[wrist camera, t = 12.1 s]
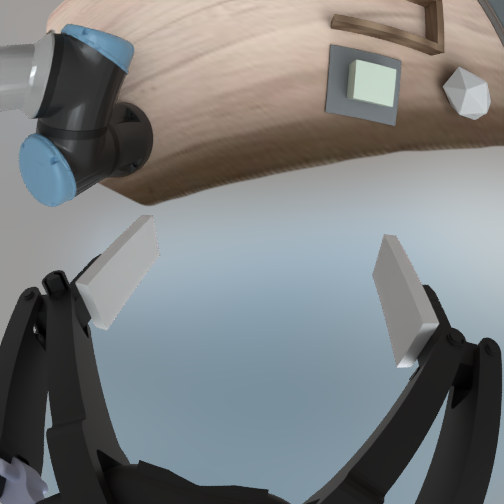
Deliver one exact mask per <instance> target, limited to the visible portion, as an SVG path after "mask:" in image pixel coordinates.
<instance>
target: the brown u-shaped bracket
mask: <svg viewBox="0 0 504 504" xmlns="http://www.w3.org/2000/svg"><path fill="white" fill-rule="evenodd" d="M407 1H410V2H413V3H415V4H418V5H421V6H423V7H425V18H426V39H425V38H422V37H420V36H417V35H414V34H411V33H408V32H405V31H402V30H399V29H396V28H393V27H389V26H386V25H382V24H379V23H375V22H371V21H367V20H362V19H358V18H353V17H348V16H343V15H337V14H334V17H333V20H332V22H331V28H332V29H338V30H343V31H349V32H354V33H358V34H363V35H367V36H371V37H375V38H379V39H383V40H387V41H390V42H394V43H397V44H400V45H403V46H406V47H409V48H412V49H415V50H418V51H421V52H424V53H426V54H429V55H431V56H432V55H436V54H440V53H444V19H443V5H442V0H407Z"/></svg>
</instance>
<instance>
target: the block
mask: <svg viewBox="0 0 504 504" xmlns="http://www.w3.org/2000/svg"><path fill="white" fill-rule="evenodd" d="M395 81H396V69H392V68H389V67H385V66H381V65H378V64H374V63H370V62H365V61H361V60H355V61H354V62H352V63H351V64H349V77H348V88H347V98H348V99H353V100H358V101H363V102H367V103H372V104H376V105H380V106H387V107H393V101H394V91H395Z"/></svg>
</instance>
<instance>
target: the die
mask: <svg viewBox="0 0 504 504" xmlns="http://www.w3.org/2000/svg"><path fill="white" fill-rule="evenodd" d="M443 88H444V91H445V93H446V95H447V98H448V100H449V102H450V105H451V106H452V107H453V108H454V109H455V110H456V111H457V113H458V114H459V115H462V116H465V117H468V118H471V119H474V120H475V119H477V118H479V117H481V116H482V115H484V114H486V113H487V111H488V108H489V106H490V103H491V100H490V95H489V90H488V86H487V82H485V81H484V80H482V79H481V78H479V77H478V76H476V75H474V74H472V73H471V72H469V71H467V70H465V69H463V68H461V67H458V68H457V70H456V71H455V72H454V73H453V75H452V76H451V77H450V78H449V80H448V81H447V82H446V83H445V84H444V86H443Z"/></svg>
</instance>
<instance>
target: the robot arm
mask: <svg viewBox="0 0 504 504" xmlns="http://www.w3.org/2000/svg"><path fill="white" fill-rule="evenodd" d="M133 54H134V47H133V45H132V44H131V43H130V42H129V41H127V40H125V39H122V38H120V37H117V36H114V35H111V34H108V33H105V32H102V31H98V30H95V29H90V28H86V27H83V26H78V25H73V24H67V25H66V26H65V27H64V28H63V29H62V30H61V34H54V33H49V34H47V35H46V36H45V37H43V38H42V39H41V40H39V41H38V42H37V43H35V44H25V45H23V44H22V45H6V46H0V112H1V111H7V110H14V109H20V110H22V111H23V112H24V113H25V114H26V115H27V117H28V118H29V119H35V118H38V122H37V128H36V133H34V134H31V135H29V136H28V138H26V139H25V141H24V142H23V143H22V145H21V148H20V152H19V166H20V171H21V175H22V178H23V180H24V183H25V184H26V187H27V189H28V190H29V191H30V193H31V194H32V195H33V197H34V198H35V199H36V200H37V201H39V202H40V203H42V204H44V205H46V206H50V207H53V206H58V205H60V204H62V203H64V202H66V201H68V200H72V199H73V198H74V197H76V196H77V195H79V194H80V193H82V192H83V191H85V190H86V189H88V188H90V187H91V186H93V185H95V184H96V183H98V182H100V181H101V180H103V179H105V178H108V177H124V176H128V175H130V174H132V173H134V172H136V171H137V170H139V169H140V168H141V167H142V166H143V165H144V164H145V163H146V161H147V160H148V158H149V156H150V153H151V150H152V145H153V133H152V128H151V125H150V122H149V120H148V118H147V116H146V115H145V114H144V112H143V111H142V110H141V109H139V108H138V107H136V106H135V105H132V104H129V103H117V104H116V101H117V98H118V95H119V92H120V89H121V87H122V84H123V81H124V79H125V76H126V75H127V74H128V68H129V65H130V62H131V60H132V57H133ZM159 256H160V252H159V247H158V242H157V236H156V230H155V224H154V218H153V216H152V215H142V216H141V217H139V218H138V219H137V220H136V221H135V222H134V223H133V224H132V225H131V226H130V227H129V228H128V229H127V230H126V231H125V232H124V233H123V234H121V235H120V236H119V237H118V238H117V239H116V240H115V241H114V242H113V243H112V244H111V245H110V246H109V248H107V249H106V250H105V251H104V252H103V253H102V254H100V255H98V256H97V257H95V258H94V259H92V260H91V261H90V262H89V264H88V265H87V266H86V267H85V268H84V269H83V271H81V272H80V273H79V274H78V275H77V276H76V277H75V278H74V279H73V281H72V282H71V283H70V284H69V282H68V280H67V277H66V275H65V273H64V272H63V271H60V270H58V271H53V272H51V273H49V274H48V275H47V276H46V277H45V278H44V279H43V280H42V285H43V287H44V289H45V291H46V293H47V295H41V293H40V291H39V289H38V288H37V287H31V288H28V289H26V290H25V291H24V292H23V293H22V294H21V295H20V297H19V299H18V302H17V304H16V306H15V309H14V311H13V313H12V316H11V319H10V321H9V323H8V326H7V328H6V331H5V334H4V337H3V339H2V342H1V345H0V502H1V503H2V504H290V503H289V502H287V501H285V500H284V499H282V498H280V497H277V496H275V495H272V494H269V493H268V490H267V489H257V488H249V487H242V486H235V485H234V486H233V485H232V486H199V485H196V484H194V483H192V482H190V481H188V480H186V479H184V478H182V477H180V476H178V475H176V474H174V473H173V472H171V471H170V470H167V469H164V468H161V467H158V466H155V465H152V464H149V463H146V462H144V461H141V460H139V463H138V464H130V463H129V461H128V459H127V457H126V455H125V454H124V452H123V451H122V450H121V448H120V446H119V444H118V441H117V438H116V435H115V433H114V430H113V426H112V423H111V420H110V417H109V413H108V410H107V407H106V403H105V399H104V395H103V392H102V387H101V383H100V379H99V374H98V370H97V365H96V360H95V355H94V349H93V344H92V338H91V331H90V327H89V325H88V322H89V321H90V319H92V321H93V323H94V325H95V327H98V328H101V329H104V330H108V328H109V327H110V325H111V323H112V322H113V321H114V319H115V318H116V316H117V315H118V313H119V312H120V310H121V309H122V307H123V306H124V304H125V303H126V302H127V300H128V299H129V297H130V296H131V294H132V293H133V291H134V290H135V289H136V287H137V286H138V284H139V283H140V282H141V280H142V279H143V277H144V276H145V275H146V273H147V272H148V270H149V269H150V268H151V266H152V265H153V264H154V262H155V261H156V260H157V258H158V257H159ZM373 278H374V281H375V285H376V288H377V292H378V295H379V298H380V302H381V305H382V309H383V313H384V316H385V320H386V324H387V328H388V331H389V336H390V339H391V344H392V348H393V353H394V357H395V362H396V367H411V366H412V365H413V364H414V362H415V361H416V359H418V363H419V367H418V368H417V369H416V371H415V372H414V373H413V375H412V376H411V378H410V379H409V380H410V381H409V382H408V384H407V386H406V387H405V389H404V390H403V392H402V394H401V395H400V396H399V398H398V399H397V401H396V402H395V404H394V405H393V407H392V408H391V410H390V411H389V412H388V414H387V415H386V416H385V418H384V419H383V420H382V422H381V423H380V424H379V426H378V427H377V428H376V430H375V431H374V432H373V433H372V435H371V436H370V437H369V438H368V439H367V441H366V442H365V443H364V444H363V446H362V447H361V448H360V449H359V450H358V451H357V453H356V454H355V455H354V456H353V457H352V458H351V459H350V460H349V461H348V462H347V464H346V465H345V466H344V467H343V468H342V469H341V470H340V471H339V472H338V473H337V474H336V475H335V476H334V477H333V478H332V479H331V480H330V481H329V482H328V483H327V484H326V485H325V486H324V487H323V488H321V489H320V490H319V491H317V492H316V493H315V494H314V495H312V496H311V497H310V498H309V499H308V500H307V501H305V502H304V503H303V504H383V503H384V497H385V495H386V493H387V492H388V490H389V489H390V488H391V487H392V485H393V484H394V483H395V481H396V480H397V479H398V477H399V476H400V475H401V473H402V472H403V470H404V469H405V468H406V466H407V465H408V463H409V462H410V460H411V459H412V457H413V456H414V454H415V452H416V451H417V449H418V448H419V446H420V445H421V443H422V441H423V440H424V438H425V436H426V434H427V433H428V431H429V429H430V427H431V425H432V423H433V422H434V420H435V418H436V416H437V414H438V412H439V410H440V408H441V406H442V404H443V402H444V400H445V398H446V396H447V393H448V391H449V395H448V400H447V405H446V410H445V415H444V419H443V423H442V428H441V431H440V435H439V439H438V442H437V446H436V449H435V452H434V455H433V459H432V462H431V464H430V467H429V470H428V473H427V476H426V478H425V481H424V483H423V486H422V488H421V491H420V493H419V495H418V498H417V500H416V502H415V504H483V502H484V499H485V495H486V492H487V489H488V485H489V482H490V478H491V473H492V469H493V464H494V459H495V454H496V448H497V442H498V435H499V427H500V416H501V400H502V360H501V350H500V347H499V346H498V344H497V343H496V342H495V341H494V340H492V339H491V338H483V339H482V341H480V343H479V344H478V345H476V344H472V343H469V342H466V340H465V337H464V336H463V334H462V333H461V332H460V331H458V330H457V329H455V328H451V326H450V323H449V321H448V319H447V316H446V314H445V312H444V310H443V308H442V307H441V304H440V302H439V299H438V297H437V295H436V293H435V292H434V291H433V290H432V289H431V288H430V286H429V285H422V284H421V282H420V280H419V278H418V276H417V274H416V272H415V270H414V268H413V266H412V264H411V262H410V260H409V258H408V257H407V255H406V253H405V251H404V249H403V247H402V245H401V244H400V242H399V240H398V238H397V237H396V236H393V235H385V234H384V236H383V240H382V244H381V247H380V251H379V254H378V258H377V261H376V265H375V268H374V271H373ZM33 327H35V329H36V332H35V333H34V331H33ZM48 391H49V401H50V409H51V416H52V428H49V429H47V432H46V436H47V443H48V448H49V453H50V458H51V462H52V466H53V470H54V474H55V478H56V481H57V485H58V488H59V491H60V493H58V494H55V495H53V496H50V497H48V498H44V495H43V494H46V493H47V492H48V487H47V484H46V483H45V482H44V481H42V479H41V473H42V467H43V454H44V426H45V413H46V403H47V394H48Z"/></svg>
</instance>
